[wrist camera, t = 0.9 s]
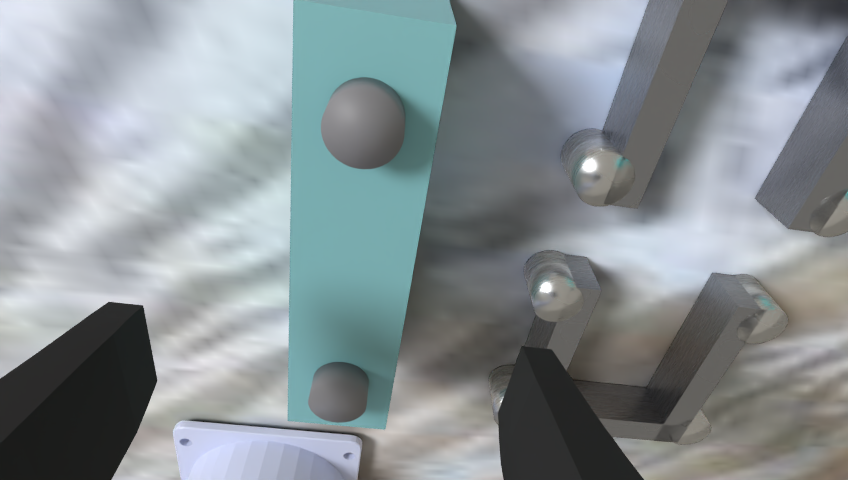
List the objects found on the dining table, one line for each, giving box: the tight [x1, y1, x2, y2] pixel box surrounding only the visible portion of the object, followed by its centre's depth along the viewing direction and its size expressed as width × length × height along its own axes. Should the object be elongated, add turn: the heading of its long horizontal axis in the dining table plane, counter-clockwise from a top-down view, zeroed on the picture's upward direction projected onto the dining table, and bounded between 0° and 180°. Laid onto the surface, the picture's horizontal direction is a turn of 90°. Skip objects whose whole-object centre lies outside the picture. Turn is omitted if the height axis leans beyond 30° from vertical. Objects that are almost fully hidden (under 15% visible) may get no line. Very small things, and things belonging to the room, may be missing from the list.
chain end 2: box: [561, 0, 848, 237], centre depth 14 cm, size 7×9×2 cm
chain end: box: [489, 250, 788, 445], centre depth 19 cm, size 7×9×2 cm
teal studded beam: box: [288, 0, 457, 429], centre depth 14 cm, size 12×3×5 cm, turn 171°
